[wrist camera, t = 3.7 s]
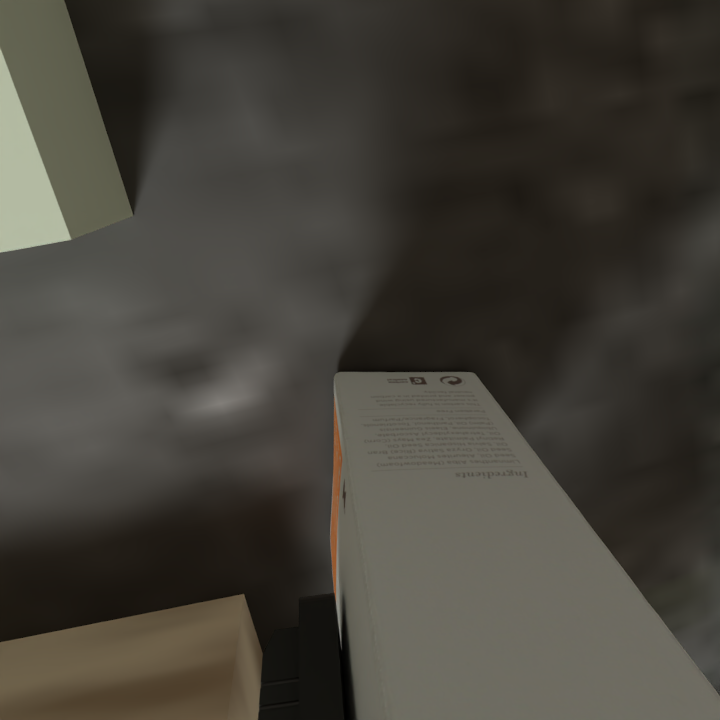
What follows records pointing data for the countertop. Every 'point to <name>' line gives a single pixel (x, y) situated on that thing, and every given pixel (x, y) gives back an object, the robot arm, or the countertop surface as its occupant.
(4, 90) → the sage block
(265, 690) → the robot arm
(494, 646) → the skincare box
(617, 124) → the countertop surface
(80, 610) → the countertop surface
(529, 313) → the countertop surface
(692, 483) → the countertop surface
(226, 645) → the beech block
